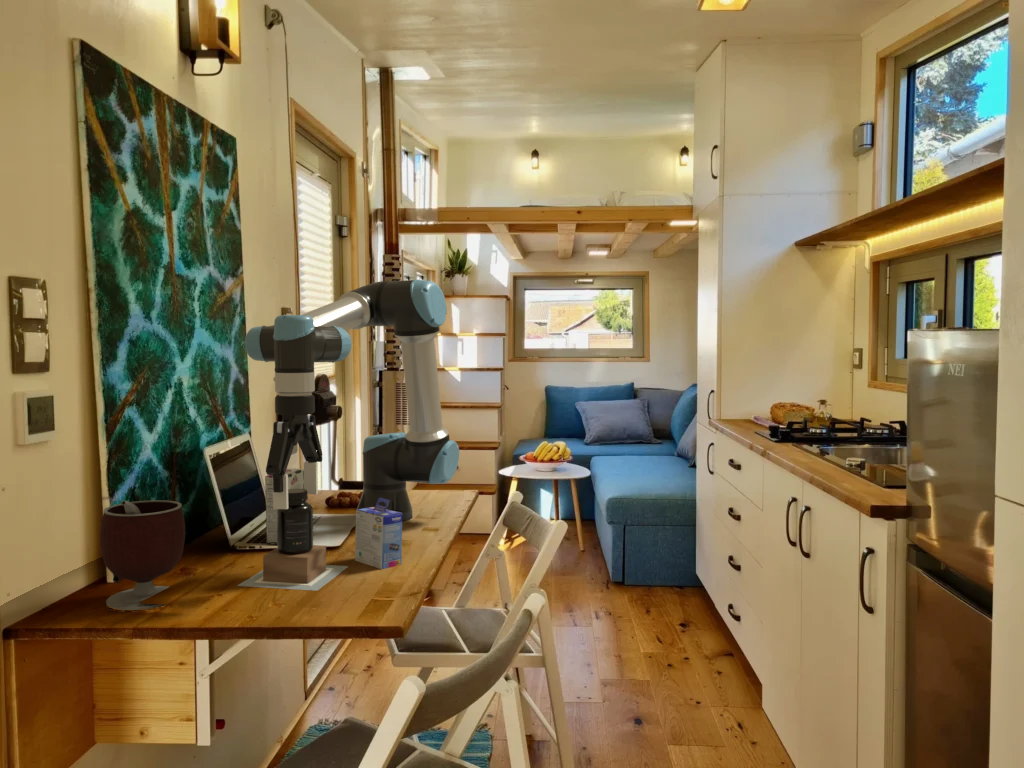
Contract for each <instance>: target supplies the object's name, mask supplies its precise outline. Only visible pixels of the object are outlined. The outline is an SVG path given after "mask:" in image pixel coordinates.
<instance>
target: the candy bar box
mask: <svg viewBox="0 0 1024 768" xmlns="http://www.w3.org/2000/svg"><path fill="white" fill-rule="evenodd" d="M285 474H288V489H304V468H292V467H291V468H287V469H286V472H285ZM264 478H265V479H264V481H265V482H264V483H265V517H266V518H265V522H266V523H265V526H266V527H265V528H266V529H265V530H266V531H265V532H266V542H267V541H269V542H277V509H273V475H265V477H264Z"/></svg>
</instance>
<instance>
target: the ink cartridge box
mask: <svg viewBox="0 0 1024 768" xmlns="http://www.w3.org/2000/svg"><path fill="white" fill-rule="evenodd" d="M380 502H384V503H385V504H386V505H385V506H381V505H379V503H380ZM389 502H390V500H387V499H383V498H379V500H378V501H377V503H376V506H375V507H369V508H363V509H358V510H357V509H356V510H355V538H354V540H355V543H354V545H355V546H354V561H356V562H358V563H362V564H364V565H368V566H370V567H373V568H377V569H380V570H384V569H385V570H386V569H389V568H394V567H398V566H402V563H403V562H402V558H403V557H402V556H403V553H402V552H403V551H402V549H403V521H402V513H401V512H396V511H391V510H387V507H388V504H389Z"/></svg>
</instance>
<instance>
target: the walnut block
mask: <svg viewBox="0 0 1024 768" xmlns="http://www.w3.org/2000/svg"><path fill="white" fill-rule="evenodd" d="M262 559H263V560H262V563H263V564H262V570H263V581H271V582H287V583H304V584H308V583H309V582H310V581H312V580H313V579H315V578H316V577H317V576H319V575H320V574H322V573H323V572H324V571H326V565H327V545H315V544H313V548H312V550H311V551H309V552H306V553H303V554H295V555H288V554H282V553H280V552H279V551H278V548H277V547H276V548H274V549H272V550H271V551H268V552H267V553H265V554H263V555H262Z"/></svg>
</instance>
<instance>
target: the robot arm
mask: <svg viewBox="0 0 1024 768" xmlns="http://www.w3.org/2000/svg"><path fill="white" fill-rule="evenodd" d="M443 292H444V291H442V289H441V287H439V285H438V284H437V283H436V282H435V281H431V280H423V279H407V280H390V281H389V280H382V281H376V282H371V283H368V284H366V285H362V286H361V287H358V288H355V289H352V290H350V291H348V292H345V293H343V294H342V295H340V296H339V297H338V299H337V300H336V301H333V302H331V303H328V304H325V305H323V306H320V307H318V308H315V309H313V310H310V311H308V312H305V313H302V314H299V315H297V314H291V315H290V314H285V315H283V314H281V315H278V316H276V317H275V318H274V324H273V325H268V326H267V325H261V326H254V327H252V328H250V329H249V330H248V331H247V333H246V335H245V338H244V346H245V351H246V353H247V355H248V356H249V358H251V359H252V360H254V361H258V362H260V361H261V362H265V363H269V362H270V363H271V362H274V377H273V379H272V380H273V381H274V391H275V393H276V395H275V397H274V413H275V414H276V415H278V416H282V419H281V421H274V422H273V425H272V427H273V429H272V437H271V443H270V448H269V453H268V458H267V462H266V467H265V473H266V474H267V475H266V476H268V475H273V509H288V474H285V472H286V469H288V466H289V463H290V459H291V456H292V453H293V450H294V447H295V446H296V445H298V446H299V448H300V450H301V452H302V455H303V458H304V459H305V461H304V462H303V469H304V489H306V490H307V495H318V494H319V485H318V483H319V481H318V479H319V478H318V473H319V472H318V471H319V470H318V469H319V467H318V463H321V462H323V451H322V446H321V443H320V437H319V434H318V433H319V432H318V429H317V423H316V416H315V415H313V414H314V413H315V412H316V402H315V401H316V400H315V399H316V396H315V395H314V394H313V393H314V392H315V391H316V386H315V385H316V381H315V363H336V362H341V361H343V360H345V359H346V358H347V357H348V356H349V355H350V353H351V350H352V344H353V343H352V339H351V338H352V337H351V336H350V334H349V333H348V331H349V330H360V329H363V328H366V327H393V334H394V337H395V338H397V339H398V340H399V341H400V343H401V344H400V345H401V354H402V355H401V356H402V364H403V372H404V373H403V375H404V382H405V383H404V384H405V392H406V393H405V394H406V401H407V410H408V411H407V412H408V421H409V430H408V432H407V433H406V432H404V431H403V432H401V431H399V432H390V433H381V434H375V435H369V436H367V437H365V438H364V440H363V448H362V450H363V451H362V470H363V471H362V473H363V474H362V479H363V482H362V485H363V487H362V494H361V496H360V499H359V502H358V505H357V508H356V510H358V509H363V508H369V507H375V506H376V503H377V501H378V500H379V498H383V499H387V500H390V502H389V504H388V507H387V510H391V511H396V512H401V513H402V522H405V521H408V520H411V519H412V518H413V507H412V503H411V500H410V498H409V497H410V496H409V494H408V492H407V491H408V490H407V482H410V483H422V484H430V485H435V484H437V485H440V484H441V485H444V484H447V483H448V482H449V483H450V481H451V480H452V479H453V477H454V476H455V474H456V471H457V469H458V466H459V463H460V461H459V460H460V448H459V447H460V446H459V445H458V443H457V442H456V441H454V440H452V439H450V433H449V432H450V431H449V430H448V429H447V428H446V427H444V426H443V415H442V407H441V406H442V405H441V395H440V384H439V373H438V362H437V353H436V352H437V351H436V344H435V342H436V341H435V338H436V337H437V335H438V334H440V327H441V326H443V325H444V323H445V321H446V320H447V309H448V308H447V302H446V298H445V295H444V293H443ZM277 394H278V395H277ZM379 505H381V506H385V505H386V504H385V503H384V502H380V503H379ZM411 517H412V518H411Z"/></svg>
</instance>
